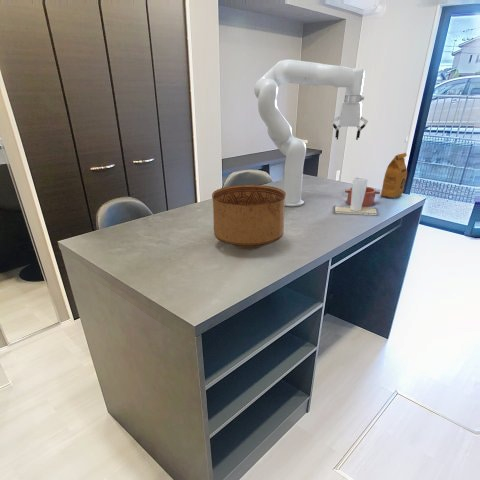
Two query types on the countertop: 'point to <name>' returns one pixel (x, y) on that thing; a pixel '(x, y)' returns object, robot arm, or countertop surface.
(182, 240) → the countertop surface
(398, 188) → the coffee package
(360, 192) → the drinking glass
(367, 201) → the cooking pot
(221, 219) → the pot
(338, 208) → the tea towel
